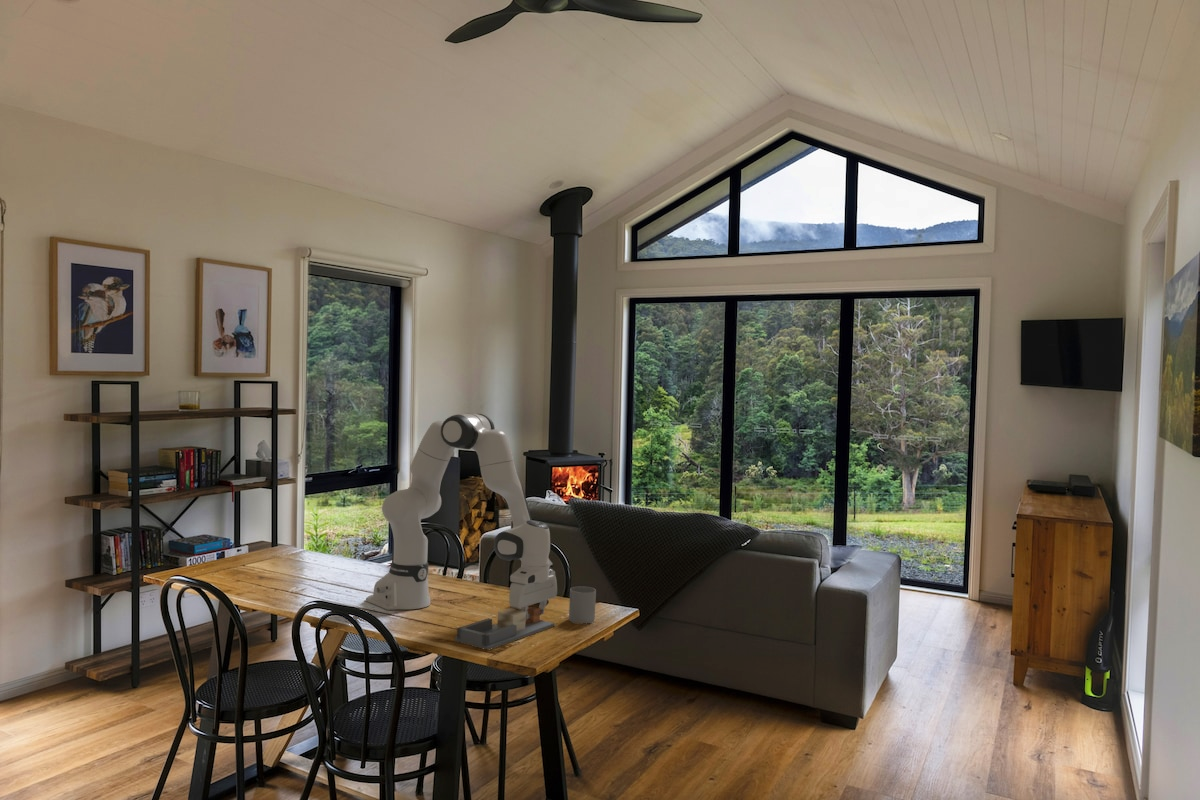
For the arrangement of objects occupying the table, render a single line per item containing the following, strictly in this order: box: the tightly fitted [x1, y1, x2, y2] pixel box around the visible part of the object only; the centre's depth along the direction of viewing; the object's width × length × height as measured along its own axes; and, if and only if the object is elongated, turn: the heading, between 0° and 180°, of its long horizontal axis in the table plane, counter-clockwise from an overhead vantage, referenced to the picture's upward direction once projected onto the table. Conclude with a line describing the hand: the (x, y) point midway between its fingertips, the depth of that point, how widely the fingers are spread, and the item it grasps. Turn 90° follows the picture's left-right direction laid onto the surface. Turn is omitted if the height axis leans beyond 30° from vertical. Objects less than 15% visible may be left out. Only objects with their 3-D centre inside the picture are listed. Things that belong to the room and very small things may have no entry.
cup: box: [568, 585, 597, 625], centre depth 264 cm, size 8×8×10 cm
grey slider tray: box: [453, 618, 555, 651], centre depth 246 cm, size 13×31×4 cm, turn 146°
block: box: [496, 606, 541, 631], centre depth 252 cm, size 6×15×5 cm, turn 146°
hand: (533, 616), depth 257 cm, fingers open, 6 cm apart
